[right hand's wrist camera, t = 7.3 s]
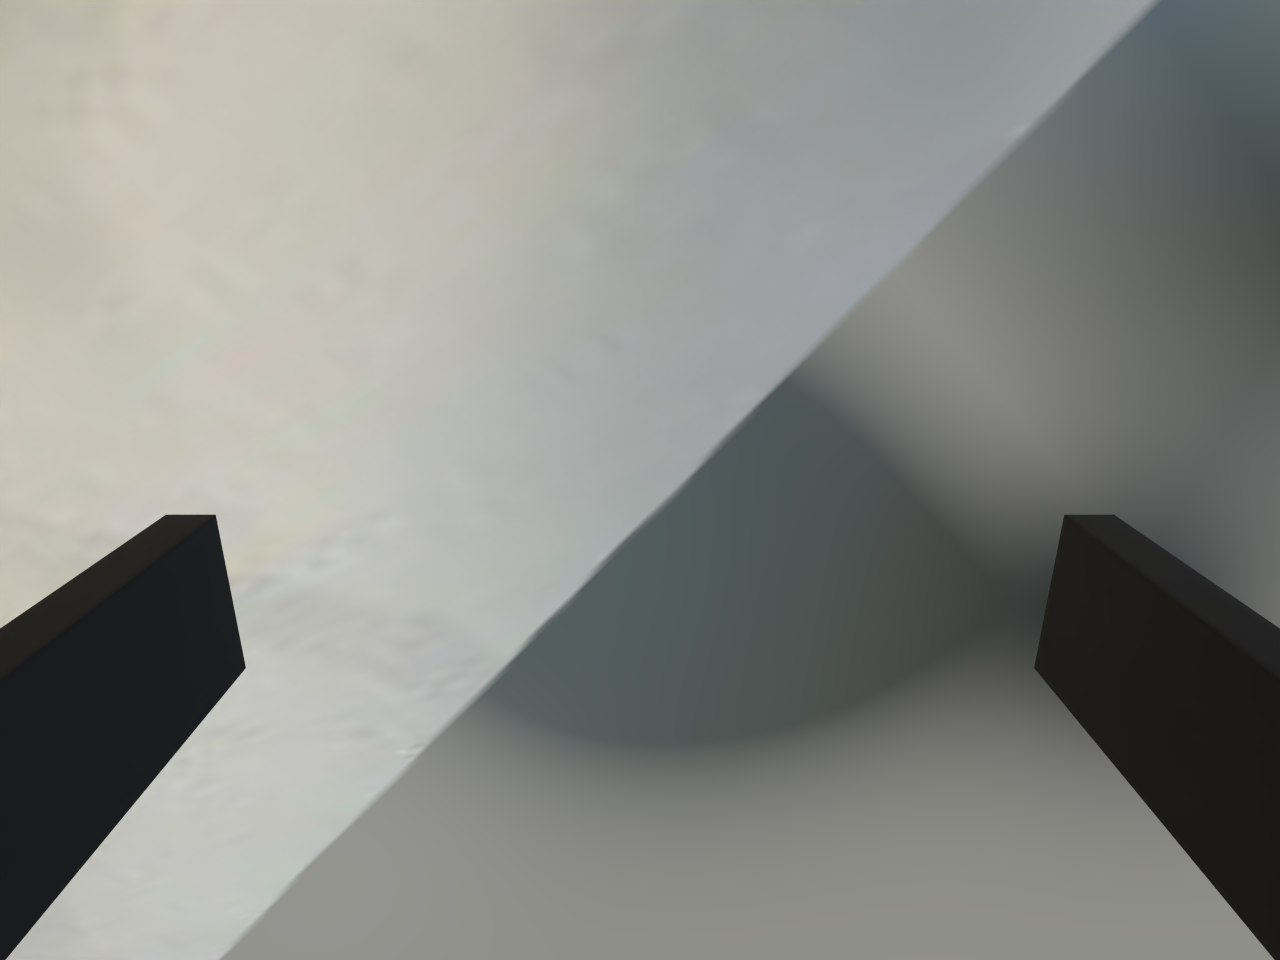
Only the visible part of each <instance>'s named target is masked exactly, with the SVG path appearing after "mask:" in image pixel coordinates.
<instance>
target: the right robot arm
mask: <svg viewBox="0 0 1280 960" xmlns="http://www.w3.org/2000/svg"><path fill="white" fill-rule="evenodd" d="M245 668H246V667H245V662H244V657H243V651H242V646H241V641H240V636H239V631H238V626H237V621H236V616H235V611H234V606H233V601H232V596H231V591H230V586H229V580H228V575H227V570H226V565H225V560H224V555H223V550H222V545H221V540H220V535H219V530H218V525H217V520H216V515H165V516H164V517H162V518H161V519H159V520H158V521H156V522H155V523H153V524H152V525H150V526H149V527H148V528H146V529H145V530H143V531H142V532H140V533H139V534H137V535H136V536H134V537H133V538H132V539H130V540H129V541H127V542H126V543H124V544H123V545H121V546H120V547H118V548H117V549H116V550H114V551H113V552H111V553H110V554H108V555H107V556H105V557H104V558H102V559H101V560H99V561H98V562H97V563H95V564H94V565H92V566H91V567H89V568H88V569H86V570H85V571H83V572H82V573H81V574H79V575H78V576H76V577H75V578H73V579H72V580H70V581H69V582H67V583H66V584H65V585H63V586H62V587H60V588H59V589H57V590H56V591H54V592H53V593H51V594H50V595H49V596H47V597H46V598H44V599H43V600H41V601H40V602H38V603H37V604H35V605H34V606H32V607H31V608H30V609H28V610H27V611H25V612H24V613H22V614H21V615H19V616H18V617H16V618H15V619H14V620H12V621H11V622H9V623H8V624H6V625H5V626H3V627H2V628H0V960H6V958H7V957H8V956H9V955H10V954H11V952H12V951H13V950H14V949H15V947H16V946H17V945H18V944H19V943H20V941H21V940H22V939H23V938H24V937H25V935H26V934H27V933H28V932H29V930H30V929H31V928H32V927H33V926H34V924H35V923H36V922H37V921H38V920H39V918H40V917H41V916H42V915H43V913H44V912H45V911H46V910H47V909H48V907H49V906H50V905H51V904H52V903H53V901H54V900H55V899H56V898H57V896H58V895H59V894H60V893H61V892H62V890H63V889H64V888H65V887H66V886H67V884H68V883H69V882H70V881H71V879H72V878H73V877H74V876H75V875H76V873H77V872H78V871H79V870H80V869H81V867H82V866H83V865H84V864H85V862H86V861H87V860H88V859H89V858H90V856H91V855H92V854H93V853H94V852H95V850H96V849H97V848H98V847H99V845H100V844H101V843H102V842H103V841H104V839H105V838H106V837H107V836H108V835H109V833H110V832H111V831H112V830H113V828H114V827H115V826H116V825H117V824H118V822H119V821H120V820H121V819H122V818H123V816H124V815H125V814H126V813H127V811H128V810H129V809H130V808H131V807H132V805H133V804H134V803H135V802H136V801H137V799H138V798H139V797H140V796H141V794H142V793H143V792H144V791H145V790H146V788H147V787H148V786H149V785H150V784H151V782H152V781H153V780H154V779H155V778H156V776H157V775H158V774H159V773H160V771H161V770H162V769H163V768H164V767H165V765H166V764H167V763H168V762H169V761H170V759H171V758H172V757H173V756H174V754H175V753H176V752H177V751H178V750H179V748H180V747H181V746H182V745H183V744H184V742H185V741H186V740H187V739H188V737H189V736H190V735H191V734H192V733H193V731H194V730H195V729H196V728H197V727H198V725H199V724H200V723H201V722H202V720H203V719H204V718H205V717H206V716H207V714H208V713H209V712H210V711H211V710H212V708H213V707H214V706H215V705H216V703H217V702H218V701H219V700H220V699H221V697H222V696H223V695H224V694H225V693H226V691H227V690H228V689H229V688H230V686H231V685H232V684H233V683H234V682H235V680H236V679H237V678H238V677H239V676H240V674H241V673H242V672H243V671H244V669H245ZM1034 668H1035V669H1036V671H1037V672H1038V673H1039V674H1040V676H1041V677H1042V678H1043V679H1044V680H1045V682H1046V683H1047V684H1048V685H1049V686H1050V688H1051V689H1052V690H1053V691H1054V692H1055V694H1056V695H1057V696H1058V697H1059V699H1060V700H1061V701H1062V702H1063V703H1064V705H1065V706H1066V707H1067V708H1068V710H1069V711H1070V712H1071V713H1072V714H1073V716H1074V717H1075V718H1076V719H1077V720H1078V722H1079V723H1080V724H1081V725H1082V726H1083V728H1084V729H1085V730H1086V731H1087V733H1088V734H1089V735H1090V736H1091V737H1092V739H1093V740H1094V741H1095V742H1096V744H1097V745H1098V746H1099V747H1100V748H1101V750H1102V751H1103V752H1104V753H1105V754H1106V756H1107V757H1108V758H1109V759H1110V761H1111V762H1112V763H1113V764H1114V765H1115V767H1116V768H1117V769H1118V770H1119V771H1120V772H1121V774H1122V775H1123V776H1124V778H1125V779H1126V780H1127V781H1128V782H1129V784H1130V785H1131V786H1132V787H1133V788H1134V790H1135V791H1136V792H1137V793H1138V794H1139V796H1140V797H1141V798H1142V799H1143V800H1144V802H1145V803H1146V804H1147V805H1148V807H1149V808H1150V809H1151V810H1152V811H1153V813H1154V814H1155V815H1156V816H1157V818H1158V819H1159V820H1160V821H1161V822H1162V824H1163V825H1164V826H1165V827H1166V828H1167V830H1168V831H1169V832H1170V833H1171V835H1172V836H1173V837H1174V838H1175V839H1176V841H1177V842H1178V843H1179V844H1180V845H1181V847H1182V848H1183V849H1184V850H1185V851H1186V853H1187V854H1188V855H1189V856H1190V858H1191V859H1192V860H1193V861H1194V862H1195V864H1196V865H1197V866H1198V867H1199V868H1200V870H1201V871H1202V872H1203V873H1204V875H1205V876H1206V877H1207V878H1208V879H1209V881H1210V882H1211V883H1212V884H1213V886H1214V887H1215V888H1216V889H1217V890H1218V892H1219V893H1220V894H1221V895H1222V896H1223V898H1224V899H1225V900H1226V901H1227V903H1228V904H1229V905H1230V906H1231V907H1232V909H1233V910H1234V911H1235V912H1236V913H1237V915H1238V916H1239V917H1240V918H1241V920H1242V921H1243V922H1244V923H1245V924H1246V925H1247V927H1248V928H1249V929H1250V930H1251V932H1252V933H1253V934H1254V935H1255V937H1256V938H1257V939H1258V940H1259V941H1260V943H1261V944H1262V945H1263V946H1264V947H1265V949H1266V950H1267V951H1268V952H1269V953H1270V955H1271V956H1272V957H1273V958H1274V960H1280V628H1278V627H1277V626H1275V625H1274V624H1272V623H1271V622H1269V621H1268V620H1266V619H1265V618H1264V617H1262V616H1261V615H1259V614H1258V613H1256V612H1255V611H1253V610H1252V609H1250V608H1249V607H1248V606H1246V605H1245V604H1243V603H1242V602H1240V601H1239V600H1237V599H1236V598H1234V597H1233V596H1231V595H1230V594H1229V593H1227V592H1226V591H1224V590H1223V589H1221V588H1220V587H1218V586H1217V585H1215V584H1214V583H1213V582H1211V581H1210V580H1208V579H1207V578H1205V577H1204V576H1202V575H1201V574H1199V573H1198V572H1197V571H1195V570H1194V569H1192V568H1191V567H1189V566H1188V565H1186V564H1185V563H1183V562H1182V561H1181V560H1179V559H1178V558H1176V557H1175V556H1173V555H1172V554H1170V553H1169V552H1167V551H1166V550H1164V549H1163V548H1161V547H1160V546H1159V545H1157V544H1156V543H1154V542H1153V541H1151V540H1150V539H1148V538H1147V537H1146V536H1144V535H1143V534H1141V533H1140V532H1138V531H1137V530H1135V529H1134V528H1132V527H1131V526H1129V525H1128V524H1127V523H1125V522H1124V521H1122V520H1121V519H1119V518H1118V517H1116V516H1115V515H1064V520H1063V525H1062V530H1061V535H1060V540H1059V545H1058V550H1057V555H1056V560H1055V565H1054V570H1053V575H1052V581H1051V586H1050V591H1049V596H1048V601H1047V606H1046V611H1045V616H1044V621H1043V626H1042V631H1041V636H1040V641H1039V647H1038V651H1037V657H1036V662H1035V667H1034Z"/></svg>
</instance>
